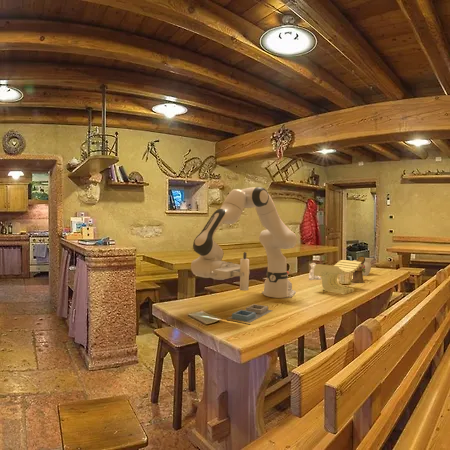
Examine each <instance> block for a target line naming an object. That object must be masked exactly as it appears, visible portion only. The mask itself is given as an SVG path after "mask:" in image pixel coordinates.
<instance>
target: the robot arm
mask: <svg viewBox="0 0 450 450" xmlns="http://www.w3.org/2000/svg"><path fill="white" fill-rule="evenodd" d="M252 208H253V209H254V208H255V211H256V215H257V216H258V218H259V222H260V224H261V226H262V227H264V229H263V230H261V232H259V236H258V239H259V243H260V244H261V245H262V246H263V248H264V250H265V253H266V257H267V271H266V279H265V280H264V284H263V285H264V286H263V290H262V291H261V294H263V295H264V296H265V297H269V298H275V299H276V298H277V299H278V298H279V299H280V298H281V299H282V298H292V297H293V296H294V295H295V294H296V292H297V291H296V290H294V289H293V283H292V282H291V281H290V280H289V277H288V276H289V274H290V272H289V271H288V270H287V269H288V268H287V267H288V266H287V261H288V260H287V257H286V256H285V255H284V254H283V253H282V249H283V250H287V249H293V248H294V247H296V245H297V244H298V237H297V234H296V233H295V232H294V231H292V230H291V229H290V228H289V227H288V226H287V225H286V224H285V223H284V221H283V220H282V219H281V216H280V215H279V212H278V210H277V207H276V205H275V202H274V201H273V198H272V197H271V195H270V193H268V191H267V189H266V188H265V187H262V186H256V187H254V186H253V187H246V188H234V189H232V190H231V191H229V193H228V194H227V196H226V197H225V199H224V201H223V202H222V204H221V206H220V208H217V209H216V210H215V211H214V212H213V213H212V215H211V216H210V218H209V219H208V220H207V222H206V224H205V225H204V226H203V229H202V230H201V232H200V233H198V234H197V236H196V237H195V238H194V239H193V243H192V248H193V249H192V250H193V251H194V252H195V253H196V254H198V255H199V256H198V257H197V258H195V259H193V260H192V261H191V264H190V270H191V273H192V274H193V275H194V276H196V277H200V278H203V279H209V278H210V279H213V280H218V281H224V280H228V279H230V278H231V279H232V278H235V277H240V276H244V272H240V263H239V264H238V263H234V262H232V261H225V260H224V261H223V257H224V249H223V248H222V247H221V246H220V245H219V244H218V243H216V241H215V240H214V236H215V234H216V232H217V230H218V229H219V227H220V226H221V224H225V225H233V224H236V223H237V222H238V221H239V220H240V218H241V216H242V214H243V211H244V209H252ZM250 274H251V272H250V270H249V275H250Z"/></svg>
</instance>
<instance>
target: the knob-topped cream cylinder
mask: <svg viewBox="0 0 450 450" xmlns="http://www.w3.org/2000/svg"><path fill="white" fill-rule="evenodd" d="M239 261H240V263H239V265H240V272H244V276H239V290H240V291H242V292H243V291H249V288H250V287H249V285H250V284H249V281H250V279H249V278H250V277H249V276H250V274H249V271H250V259H249V258H247V252H246V251H244V252H243V255H242V258H240V260H239Z"/></svg>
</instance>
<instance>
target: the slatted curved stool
mask: <svg viewBox="0 0 450 450" xmlns="http://www.w3.org/2000/svg"><path fill="white" fill-rule="evenodd" d="M316 264H317V265H316V266H315V267H314V276H320V277H321V288H322V289H323V291H325V292H330V293H335V294H342V295H347V294H349V293H353V292H355V289H354V288H353V287H347V286H345V285H341V284H339V283H338V281H337V280H338V277H339V275H348V274H352V273H353V272H355V270H357V268H359V267H360V266H361V262H357V261H353V260H347V259H341V260H338V261H337V263H335V264H333V265H329V264H322V263H316Z"/></svg>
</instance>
